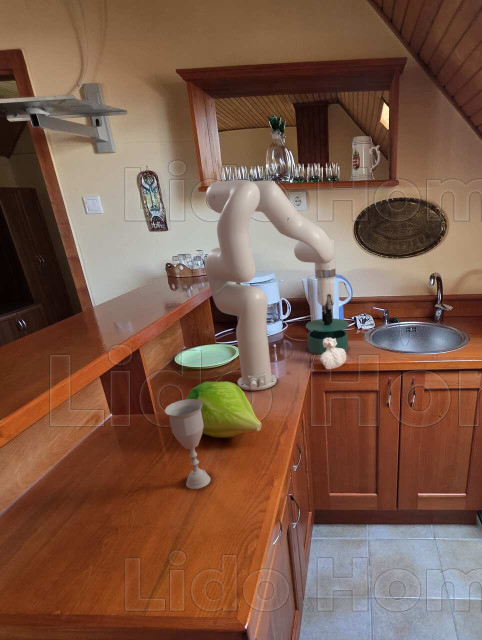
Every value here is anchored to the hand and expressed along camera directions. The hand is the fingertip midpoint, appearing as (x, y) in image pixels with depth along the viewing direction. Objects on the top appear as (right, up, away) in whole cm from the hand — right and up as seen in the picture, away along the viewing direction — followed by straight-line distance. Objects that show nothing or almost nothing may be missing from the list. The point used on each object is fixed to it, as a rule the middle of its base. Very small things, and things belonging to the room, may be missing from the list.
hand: (327, 321), depth 162 cm
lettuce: (-24, -37, -54) cm, 70 cm away
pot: (0, -10, +4) cm, 11 cm away
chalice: (-26, -45, -72) cm, 89 cm away
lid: (0, -1, +1) cm, 1 cm away
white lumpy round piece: (+2, -18, -12) cm, 21 cm away
